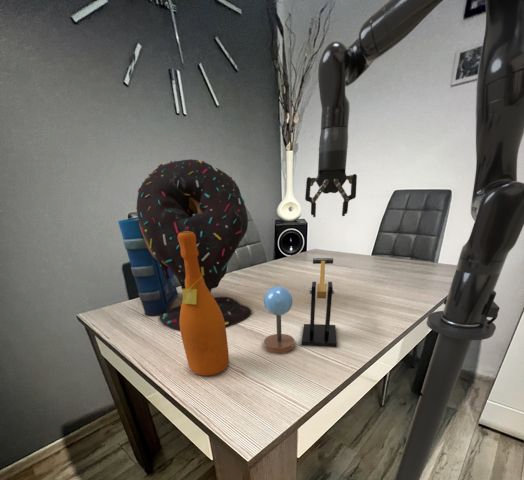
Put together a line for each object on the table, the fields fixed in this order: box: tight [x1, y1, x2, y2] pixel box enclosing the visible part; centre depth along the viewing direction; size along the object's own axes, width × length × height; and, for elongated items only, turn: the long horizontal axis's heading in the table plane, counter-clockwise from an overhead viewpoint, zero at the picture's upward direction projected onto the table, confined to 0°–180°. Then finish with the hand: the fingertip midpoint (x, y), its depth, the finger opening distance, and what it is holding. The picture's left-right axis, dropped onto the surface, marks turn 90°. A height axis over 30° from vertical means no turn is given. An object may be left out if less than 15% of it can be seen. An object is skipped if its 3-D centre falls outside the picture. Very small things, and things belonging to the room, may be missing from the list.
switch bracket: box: [300, 281, 338, 348], centre depth 72 cm, size 11×9×15 cm
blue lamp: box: [263, 285, 296, 355], centre depth 68 cm, size 8×8×16 cm
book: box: [117, 216, 178, 317], centre depth 98 cm, size 24×9×30 cm, turn 4°
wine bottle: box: [178, 231, 230, 377], centre depth 58 cm, size 10×10×30 cm
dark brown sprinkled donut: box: [135, 158, 252, 331], centre depth 84 cm, size 30×32×45 cm
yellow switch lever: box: [312, 257, 334, 299], centre depth 72 cm, size 14×6×2 cm, turn 169°
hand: (328, 216), depth 82 cm, fingers open, 8 cm apart
